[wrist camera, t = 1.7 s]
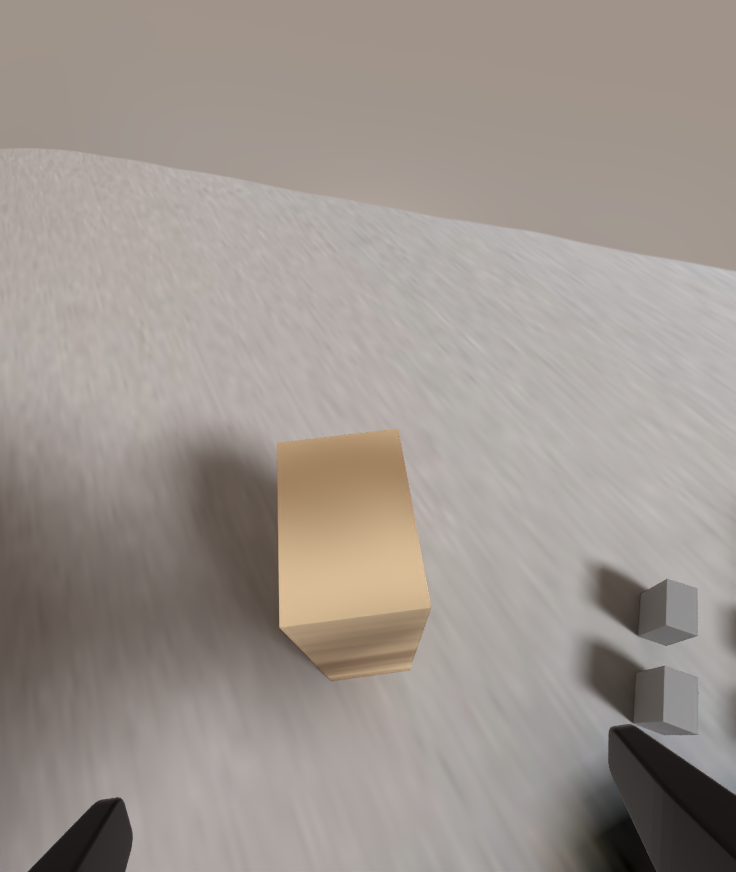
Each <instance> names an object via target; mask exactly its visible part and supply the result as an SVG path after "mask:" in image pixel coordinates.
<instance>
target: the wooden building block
mask: <svg viewBox="0 0 736 872" xmlns="http://www.w3.org/2000/svg"><path fill="white" fill-rule="evenodd" d="M277 489H278V559H279V628H280V629H281V630H282V631H283V632H284V633H285V634H286V635H287V636H288V637H289V638H290V639H291V640H292V641H293V642H294V643H295V644H296V645H297V646H298V647H299V648H300V649H301V650H302V651H303V652H304V653H305V654H306V655H307V656H308V657H309V658H310V659H311V661H312V662H313V663H314V664H315V665H316V666H317V667H318V668H319V669H320V670H321V671H322V672H323V673H324V674H325V675H326V676H327V677H328V678H329V679H330V680H331V681H335V680H342V679H350V678H357V677H364V676H372V675H379V674H386V673H394V672H401V671H408V670H410V667H411V665H412V662H413V659H414V656H415V653H416V650H417V647H418V644H419V642H420V639H421V636H422V633H423V630H424V627H425V624H426V621H427V619H428V616H429V613H430V610H431V603H430V598H429V593H428V587H427V582H426V576H425V571H424V566H423V560H422V555H421V549H420V544H419V539H418V533H417V528H416V522H415V517H414V511H413V506H412V501H411V495H410V490H409V484H408V479H407V474H406V468H405V463H404V457H403V452H402V447H401V441H400V436H399V430H398V429H392V430H383V431H375V432H366V433H358V434H349V435H341V436H332V437H324V438H315V439H307V440H298V441H290V442H281V443H277Z"/></svg>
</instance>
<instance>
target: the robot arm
mask: <svg viewBox="0 0 736 872" xmlns="http://www.w3.org/2000/svg"><path fill="white" fill-rule="evenodd" d="M608 763H609V768H610V772H611V775H612V777H613V780H614V782H615V784H616V786H617V788H618V790H619V792H620V795H621V797H622V799H623V801H624V803H625V805H626V807H627V810H628V812H629V814H630V816H631V818H632V820H633V822H634V825H635V827H636V829H637V831H638V833H639V835H640V838H641V840H642V842H643V844H644V846H645V848H646V850H647V853H648V855H649V857H650V859H651V861H652V863H653V865H654V867H655V869H656V871H657V872H736V795H735V794H733V793H732V792H730V791H729V790H728V789H726V788H725V787H723V786H722V785H720V784H719V783H717V782H716V781H714V780H713V779H712V778H710V777H709V776H707V775H706V774H704V773H703V772H701V771H700V770H698V769H697V768H696V767H694V766H693V765H691V764H690V763H688V762H687V761H685V760H684V759H682V758H681V757H680V756H678V755H677V754H675V753H674V752H672V751H671V750H669V749H668V748H666V747H665V746H664V745H662V744H661V743H659V742H658V741H656V740H655V739H653V738H652V737H650V736H649V735H648V734H646V733H645V732H643V731H642V730H640V729H639V728H637V727H636V726H634V725H631V724H626V725H619V726H613V727H611V728H610V730H609V740H608ZM132 840H133V834H132V828H131V825H130V821H129V818H128V814H127V810H126V807H125V803H124V801H123V800H122V799H121V798H118V797H117V798H110V799H103V800H99V801H97V802H96V803H94V804H93V805H92V806H91V807H90V808H89V809H88V810H87V811H86V812H85V813H84V814H83V815H82V816H81V817H80V819H79V820H78V821H77V822H76V823H75V824H74V825H73V826H72V827H71V828H70V829H69V830H68V831H67V832H66V833H65V834H64V835H63V836H62V837H61V838H60V839H59V840H58V841H57V842H56V843H55V844H54V845H53V846H52V847H51V848H50V849H49V850H48V851H47V852H46V853H45V855H44V856H43V857H42V858H41V859H40V860H39V861H38V862H37V863H36V864H35V865H34V866H33V867H32V868H31V869H30V870H29V871H28V872H125V871H126V867H127V863H128V859H129V855H130V852H131V847H132Z"/></svg>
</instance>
